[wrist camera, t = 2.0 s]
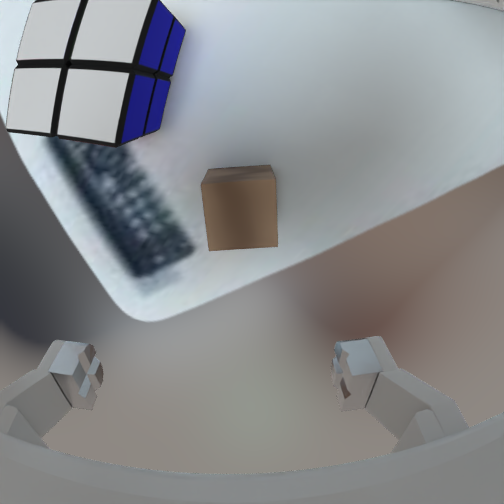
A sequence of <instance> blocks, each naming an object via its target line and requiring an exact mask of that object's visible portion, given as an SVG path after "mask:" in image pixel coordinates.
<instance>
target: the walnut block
mask: <svg viewBox="0 0 504 504" xmlns="http://www.w3.org/2000/svg"><path fill="white" fill-rule="evenodd" d="M201 190H202V199H203V207H204V216H205V224H206V232H207V240H208V247H209V251H218V250H233V249H249V248H265V247H278V230H277V199H276V178H275V176H274V173H273V171H272V169H271V166H270V165H259V166H243V167H229V168H216V169H208V171H207V173H206V175H205V177H204V179H203V181H202V183H201Z"/></svg>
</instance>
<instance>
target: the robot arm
mask: <svg viewBox="0 0 504 504" xmlns="http://www.w3.org/2000/svg"><path fill="white" fill-rule="evenodd" d="M455 1H461V2H466V3H471V4H476V5H481V6H485V7H489V8H494V9H497V10H501V11H504V0H455ZM334 351H335V354H336V357H335V358H334V359H333V360H332V364H331V377H332V382H333V386H334V387H335V388H337V389H338V393H337V400H338V403H339V406H340V410H341V411H349V410H357V409H363V408H365V410H366V411H367V412H368V413H369V414H371V415H372V416H373V417H374V418H375V419H376V420H377V421H378V422H380V423H381V424H382V425H383V426H384V427H385V428H386V429H387V430H388V431H390V432H391V433H392V434H393V435H394V436H395V437H396V438H397V439H399V441H398V443H397V444H396V446H395V447H394V449H393V450H392V452H391V453H390V454H387V455H383V456H379V457H375V458H370V459H366V460H361V461H356V462H351V463H346V464H340V465H334V466H328V467H322V468H314V469H306V470H297V471H287V472H274V473H258V474H257V473H256V474H199V473H181V472H169V471H159V470H150V469H142V468H134V467H128V466H122V465H116V464H110V463H105V462H99V461H95V460H90V459H86V458H82V457H77V456H73V455H70V454H66V453H62V452H58V451H55V450H51V449H49V447H48V445H47V444H46V443H45V442H44V441H43V440H42V439H41V438H42V437H43V436H44V435H45V434H46V433H47V432H48V431H49V430H50V429H51V428H52V427H53V426H55V425H56V424H57V422H59V421H60V420H61V419H62V418H63V417H64V416H65V415H66V414H67V413H68V412H69V411H70V410H71V409H72V407H73V408H79V409H86V410H92V409H93V406H94V403H95V401H96V398H97V394H96V392H95V391H96V390H97V389H98V388H100V387H101V384H102V382H103V367H102V365H101V362H100V361H99V360H98V359H97V358H95V357H94V356H95V354H96V351H95V349H94V346H93V345H91V344H86V343H78V342H70V341H60V340H56V341H54V342H53V343H52V344H51V347H50V348H49V349H48V351H47V353H46V354H45V356H44V358H43V359H42V361H41V363H40V364H39V366H38V368H37V370H32V371H30V372H29V373H27V374H26V375H24V376H23V377H21V378H20V379H18V380H16V381H15V382H13V383H12V384H10V385H9V386H7V387H6V388H4V389H3V390H1V391H0V504H504V412H503V413H501V414H499V415H497V416H494V417H492V418H490V419H488V420H486V421H484V422H481V423H479V424H477V425H474V426H472V427H468V425H467V423H466V421H465V419H464V417H463V415H462V414H461V412H460V410H459V408H458V406H457V404H456V402H455V401H454V400H453V399H451V398H450V397H448V396H446V395H445V394H443V393H441V392H440V391H438V390H437V389H435V388H433V387H432V386H430V385H428V384H427V383H425V382H423V381H421V380H420V379H418V378H417V377H415V376H414V375H412V374H410V373H409V372H407V371H406V370H404V369H398V367H397V366H396V364H395V362H394V360H393V358H392V356H391V354H390V352H389V350H388V349H387V346H386V345H385V343H384V341H383V339H382V337H380V336H376V337H369V338H362V339H355V340H345V341H337V343H336V345H335V349H334Z"/></svg>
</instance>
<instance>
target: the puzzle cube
mask: <svg viewBox="0 0 504 504" xmlns="http://www.w3.org/2000/svg"><path fill="white" fill-rule="evenodd" d="M185 31H186V30H185V29H184V27H183V26H182V25H181V24H180V22H179V21H178V20H177V19H176V18H175V16H174V15H173V14H171V12H170V11H169V10H168V9H167V8H166V7H165V5H164V4H163V3H162V2H161V1H160V0H36V1H35V2H34V3H33V4H32V6H31V9H30V12H29V15H28V18H27V21H26V25H25V28H24V31H23V35H22V39H21V42H20V46H19V50H18V55H17V59H16V61H17V63H18V66H17V67H16V68H15V69H14V74H13V79H12V85H11V91H10V97H9V104H8V112H7V120H6V129H7V131H8V132H12V133H21V134H30V135H38V136H46V137H54V136H58V137H59V139H66V140H72V141H79V142H85V143H92V144H98V145H104V146H110V147H115V148H116V147H118V146H121V145H123V144H126V143H128V142H130V141H133V140H135V139H138V138H139V137H143V136H145V135H148V134H150V133H153V132H156V131H157V130H159V129H160V124H161V120H162V115H163V111H164V107H165V103H166V98H167V94H168V90H169V86H170V83H171V82H170V80H169V79H168V78H169V77H170V76H172V75H173V71H174V68H175V64H176V61H177V57H178V54H179V50H180V47H181V44H182V40H183V37H184V34H185Z"/></svg>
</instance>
